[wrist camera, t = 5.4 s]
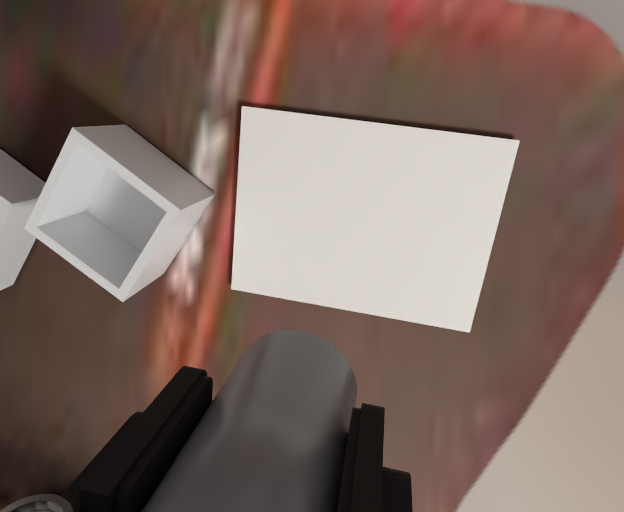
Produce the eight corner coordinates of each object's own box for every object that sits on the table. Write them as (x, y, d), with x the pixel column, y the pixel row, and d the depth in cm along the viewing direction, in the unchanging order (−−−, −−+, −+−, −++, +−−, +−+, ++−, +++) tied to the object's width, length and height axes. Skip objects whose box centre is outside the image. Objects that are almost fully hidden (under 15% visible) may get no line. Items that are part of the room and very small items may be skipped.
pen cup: (215, 194, 29) (180, 210, 24) (163, 273, 31) (122, 302, 27) (125, 124, 28) (72, 127, 24) (80, 210, 31) (24, 228, 26)
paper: (518, 140, 25) (519, 140, 24) (469, 331, 29) (469, 332, 28) (242, 106, 27) (241, 106, 26) (232, 288, 31) (231, 289, 30)
